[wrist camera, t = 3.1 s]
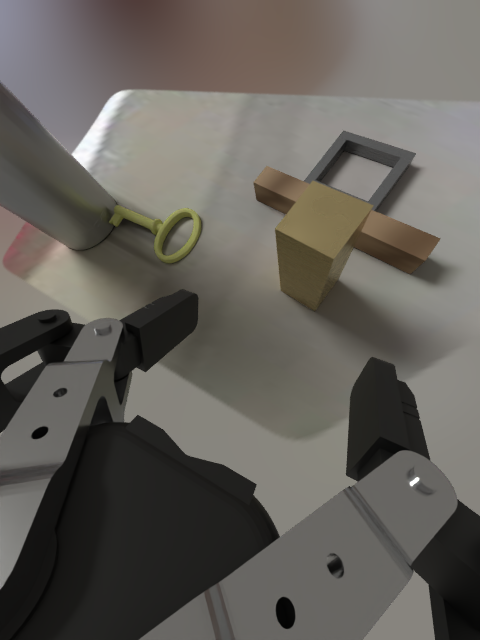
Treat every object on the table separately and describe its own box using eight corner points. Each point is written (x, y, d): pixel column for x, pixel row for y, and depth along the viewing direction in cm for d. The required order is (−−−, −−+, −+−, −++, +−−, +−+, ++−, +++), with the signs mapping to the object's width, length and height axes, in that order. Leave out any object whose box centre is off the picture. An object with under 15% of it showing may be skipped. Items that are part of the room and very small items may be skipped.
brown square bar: (256, 199, 27) (253, 182, 25) (268, 184, 27) (266, 165, 25) (410, 274, 21) (425, 260, 19) (423, 254, 21) (440, 238, 19)
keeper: (301, 192, 26) (301, 183, 25) (341, 141, 27) (343, 130, 25) (367, 221, 23) (372, 213, 22) (410, 164, 24) (416, 153, 23)
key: (123, 214, 31) (112, 203, 29) (206, 215, 28) (200, 202, 26) (107, 261, 30) (94, 252, 28) (194, 267, 27) (186, 257, 25)
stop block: (280, 290, 23) (275, 228, 14) (303, 260, 24) (312, 180, 14) (314, 311, 22) (333, 259, 13) (338, 279, 22) (373, 205, 13)
